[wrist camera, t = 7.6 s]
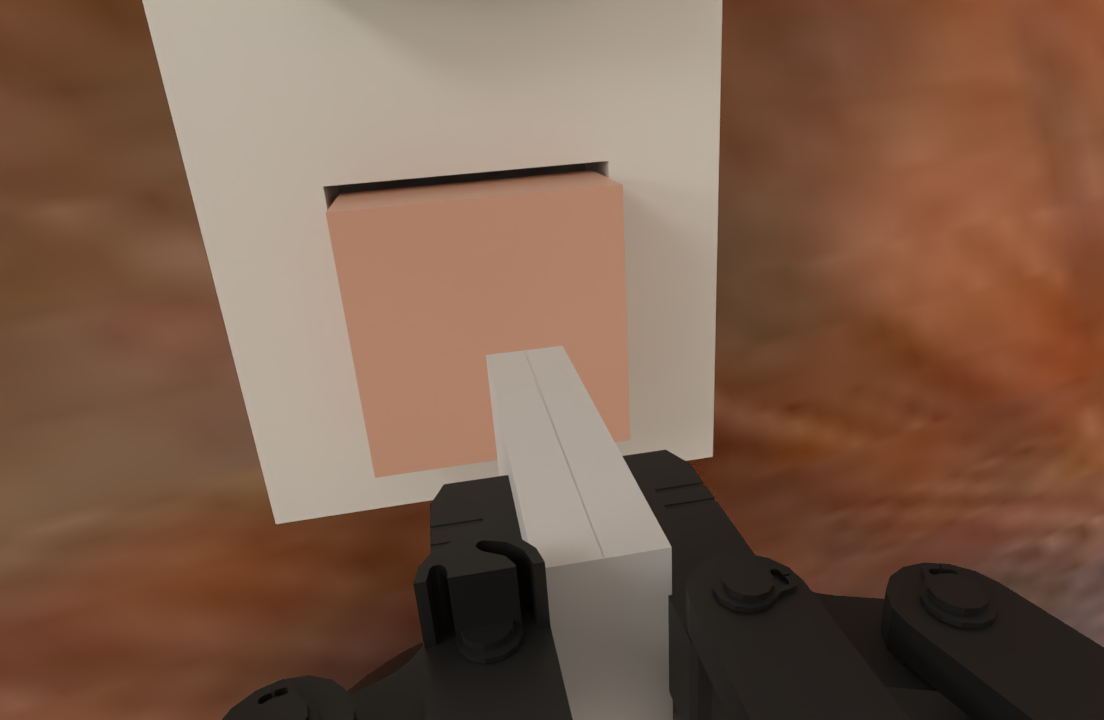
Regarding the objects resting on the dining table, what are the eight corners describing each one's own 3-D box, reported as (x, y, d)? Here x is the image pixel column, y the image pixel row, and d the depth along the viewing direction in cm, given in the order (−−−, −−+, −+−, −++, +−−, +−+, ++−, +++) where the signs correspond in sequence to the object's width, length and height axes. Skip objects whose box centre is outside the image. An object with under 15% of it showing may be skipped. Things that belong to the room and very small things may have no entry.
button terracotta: (380, 424, 21) (375, 478, 19) (339, 193, 19) (325, 212, 16) (602, 394, 22) (630, 440, 20) (592, 170, 20) (622, 184, 17)
